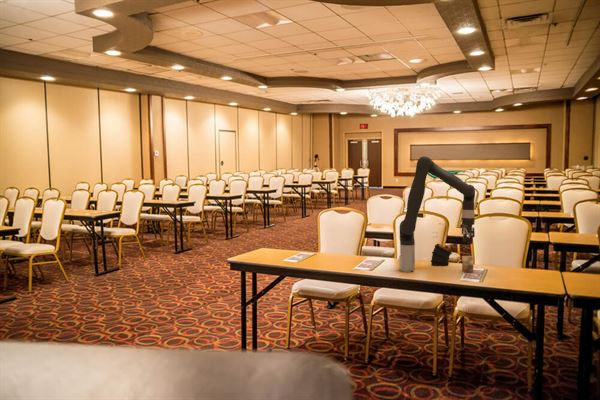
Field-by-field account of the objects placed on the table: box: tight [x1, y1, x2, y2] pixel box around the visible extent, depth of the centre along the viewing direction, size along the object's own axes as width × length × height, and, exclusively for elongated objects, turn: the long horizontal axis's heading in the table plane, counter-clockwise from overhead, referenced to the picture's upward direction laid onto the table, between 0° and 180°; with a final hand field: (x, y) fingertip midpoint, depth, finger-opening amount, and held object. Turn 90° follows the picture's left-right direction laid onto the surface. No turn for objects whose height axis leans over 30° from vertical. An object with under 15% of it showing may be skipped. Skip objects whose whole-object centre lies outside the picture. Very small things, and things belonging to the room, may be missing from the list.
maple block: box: [461, 255, 475, 266], centre depth 301 cm, size 5×5×5 cm
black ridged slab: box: [430, 243, 453, 267], centre depth 326 cm, size 4×13×15 cm, turn 54°
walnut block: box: [461, 264, 474, 274], centre depth 301 cm, size 5×5×5 cm
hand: (467, 242), depth 300 cm, fingers open, 8 cm apart
